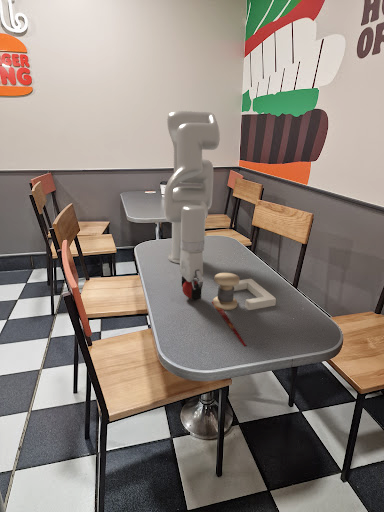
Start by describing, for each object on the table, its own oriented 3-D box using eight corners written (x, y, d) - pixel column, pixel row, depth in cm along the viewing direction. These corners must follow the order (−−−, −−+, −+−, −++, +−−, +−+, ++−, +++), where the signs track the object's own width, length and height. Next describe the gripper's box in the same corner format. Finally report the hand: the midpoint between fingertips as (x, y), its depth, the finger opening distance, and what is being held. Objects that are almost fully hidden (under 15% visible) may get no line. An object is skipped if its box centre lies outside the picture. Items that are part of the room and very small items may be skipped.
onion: (182, 293, 110) (183, 272, 107) (199, 294, 110) (200, 273, 107) (181, 302, 105) (182, 280, 102) (199, 302, 105) (200, 281, 102)
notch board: (226, 288, 115) (227, 282, 114) (250, 284, 119) (251, 278, 118) (248, 310, 101) (249, 303, 100) (275, 305, 105) (276, 298, 104)
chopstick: (243, 348, 84) (243, 345, 84) (211, 303, 105) (211, 301, 105) (249, 347, 85) (250, 344, 84) (217, 303, 106) (217, 300, 106)
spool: (209, 299, 107) (210, 274, 103) (230, 296, 110) (232, 271, 106) (219, 311, 100) (221, 284, 96) (241, 307, 103) (244, 281, 99)
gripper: (173, 237, 107) (172, 283, 113) (190, 254, 92) (189, 306, 98) (193, 235, 109) (192, 280, 115) (214, 252, 94) (211, 303, 100)
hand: (191, 292), depth 107 cm, fingers open, 9 cm apart
